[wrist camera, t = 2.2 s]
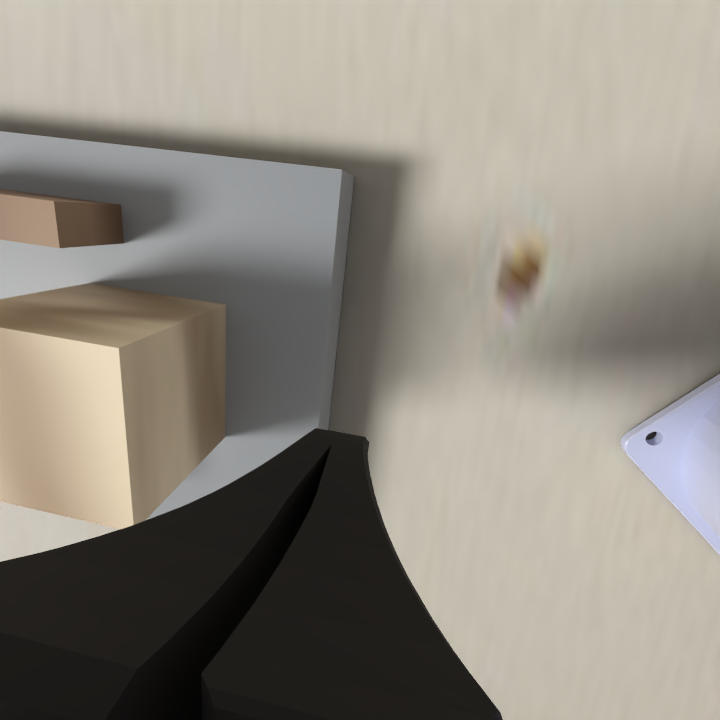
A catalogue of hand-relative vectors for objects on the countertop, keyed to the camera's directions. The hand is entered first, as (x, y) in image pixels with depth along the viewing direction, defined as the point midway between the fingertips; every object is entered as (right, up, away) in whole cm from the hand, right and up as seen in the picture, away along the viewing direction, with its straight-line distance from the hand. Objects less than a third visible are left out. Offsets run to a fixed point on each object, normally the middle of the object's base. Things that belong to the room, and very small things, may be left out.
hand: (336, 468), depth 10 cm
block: (-7, +2, +5) cm, 9 cm away
